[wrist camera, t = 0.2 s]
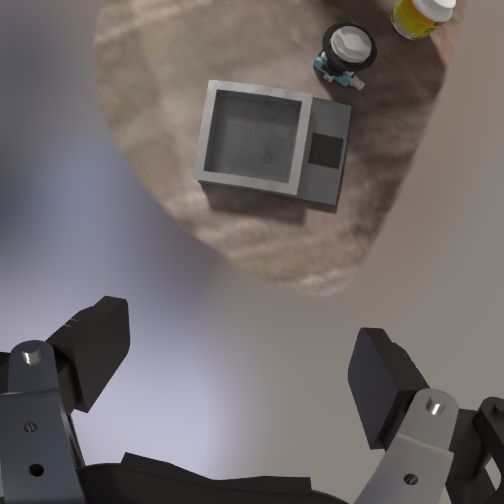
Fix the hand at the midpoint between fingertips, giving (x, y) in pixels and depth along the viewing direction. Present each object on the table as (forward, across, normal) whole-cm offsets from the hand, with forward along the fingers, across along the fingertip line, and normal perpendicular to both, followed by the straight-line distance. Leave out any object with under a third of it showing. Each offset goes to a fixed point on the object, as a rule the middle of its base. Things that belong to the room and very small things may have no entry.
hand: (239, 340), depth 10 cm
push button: (+29, -8, -18) cm, 35 cm away
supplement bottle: (+29, -17, -29) cm, 44 cm away
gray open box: (+28, -1, -9) cm, 30 cm away
